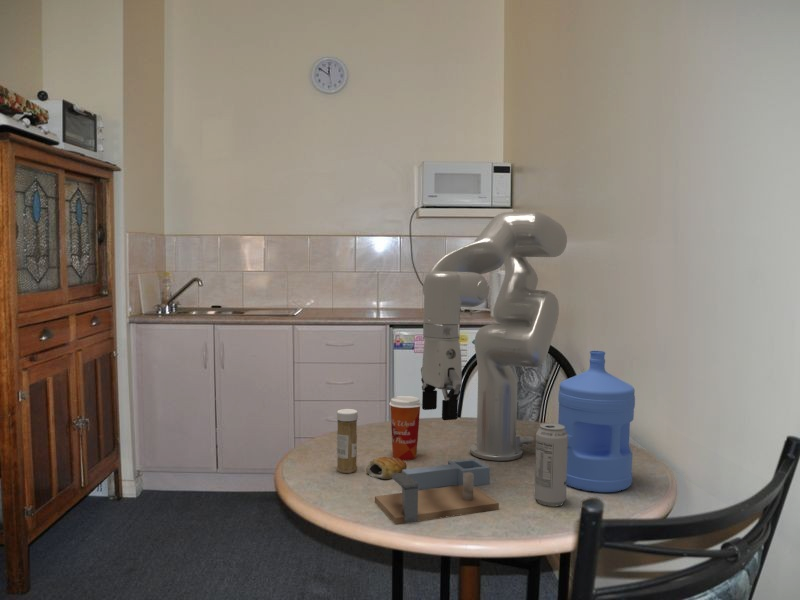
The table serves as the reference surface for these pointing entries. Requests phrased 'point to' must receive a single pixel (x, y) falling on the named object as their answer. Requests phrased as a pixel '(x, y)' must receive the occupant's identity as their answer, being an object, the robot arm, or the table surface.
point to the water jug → (597, 428)
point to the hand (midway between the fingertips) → (439, 414)
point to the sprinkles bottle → (347, 440)
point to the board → (440, 501)
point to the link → (449, 474)
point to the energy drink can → (551, 464)
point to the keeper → (408, 496)
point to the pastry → (385, 467)
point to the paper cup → (405, 426)
